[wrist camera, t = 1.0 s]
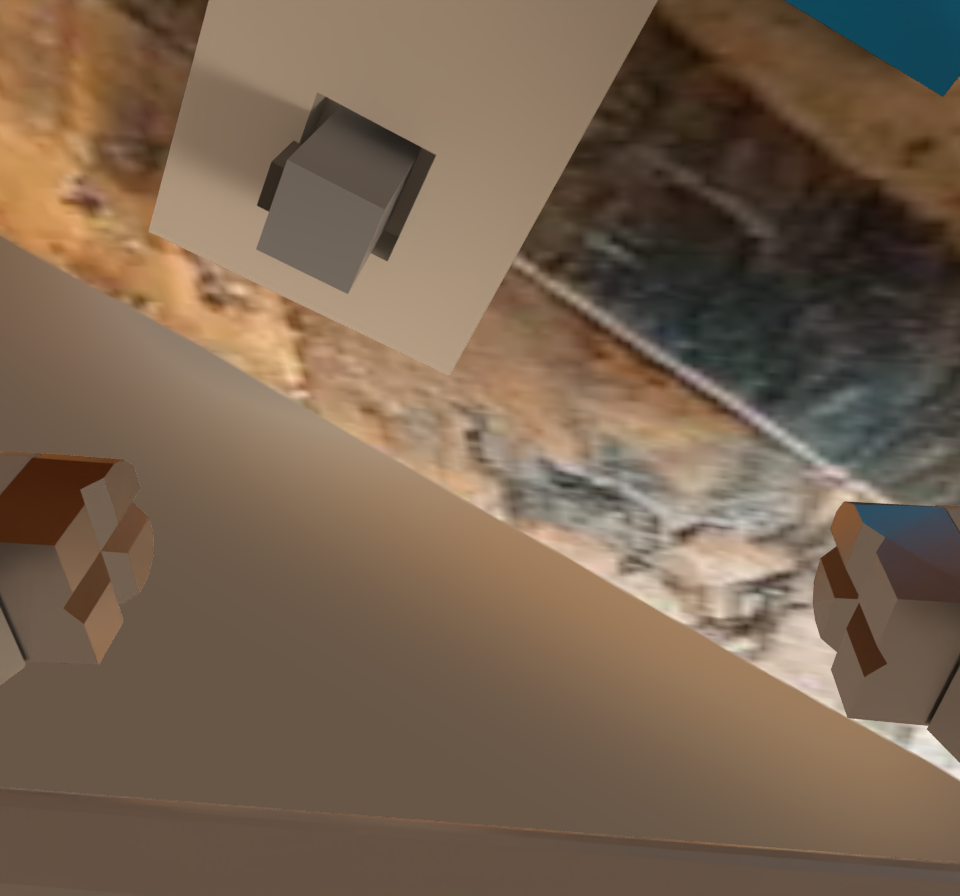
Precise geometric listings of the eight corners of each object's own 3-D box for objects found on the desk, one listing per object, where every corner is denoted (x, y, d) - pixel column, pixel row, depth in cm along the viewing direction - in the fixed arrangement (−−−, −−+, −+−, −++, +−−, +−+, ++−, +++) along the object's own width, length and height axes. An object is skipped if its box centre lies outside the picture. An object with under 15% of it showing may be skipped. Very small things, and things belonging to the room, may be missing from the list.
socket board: (785, -257, 31) (809, -270, 28) (459, 339, 47) (448, 379, 43) (386, -526, 28) (356, -580, 25) (181, 203, 44) (145, 233, 40)
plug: (423, 143, 40) (384, 209, 32) (390, 217, 42) (347, 294, 35) (328, 93, 39) (267, 149, 32) (300, 170, 41) (236, 240, 34)
